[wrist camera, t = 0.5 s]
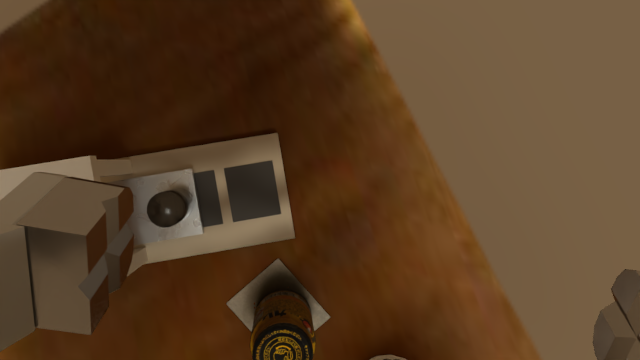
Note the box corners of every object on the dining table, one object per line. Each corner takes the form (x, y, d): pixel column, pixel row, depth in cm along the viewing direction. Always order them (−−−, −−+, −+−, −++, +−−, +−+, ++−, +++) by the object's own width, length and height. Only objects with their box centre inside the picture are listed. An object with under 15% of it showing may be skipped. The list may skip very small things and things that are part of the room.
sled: (204, 232, 59) (193, 242, 52) (-37, 273, 57) (-82, 289, 50) (193, 168, 58) (181, 169, 51) (-50, 208, 57) (-96, 214, 50)
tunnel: (149, 263, 59) (114, 290, 46) (30, 283, 58) (-39, 317, 46) (130, 156, 58) (89, 155, 46) (9, 176, 58) (-66, 180, 45)
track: (294, 236, 61) (295, 238, 60) (-113, 306, 59) (-124, 310, 57) (277, 133, 61) (277, 132, 59) (-135, 200, 58) (-146, 201, 57)
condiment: (278, 361, 62) (278, 410, 50) (226, 303, 61) (212, 338, 49) (330, 316, 62) (342, 354, 50) (278, 257, 61) (277, 281, 49)
